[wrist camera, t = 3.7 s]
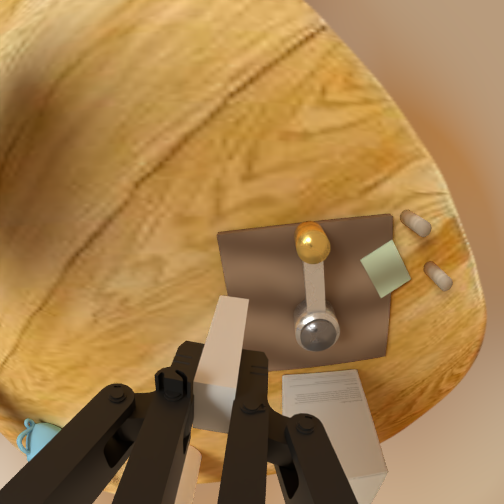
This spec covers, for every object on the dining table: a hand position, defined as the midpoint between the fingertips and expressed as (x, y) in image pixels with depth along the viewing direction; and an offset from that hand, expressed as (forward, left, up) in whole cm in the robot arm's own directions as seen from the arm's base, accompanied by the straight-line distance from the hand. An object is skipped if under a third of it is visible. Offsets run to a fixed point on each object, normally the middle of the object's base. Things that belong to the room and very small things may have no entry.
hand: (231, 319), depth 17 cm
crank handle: (+4, +5, -13) cm, 14 cm away
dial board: (+7, +8, -14) cm, 17 cm away
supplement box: (+21, +6, -14) cm, 26 cm away
